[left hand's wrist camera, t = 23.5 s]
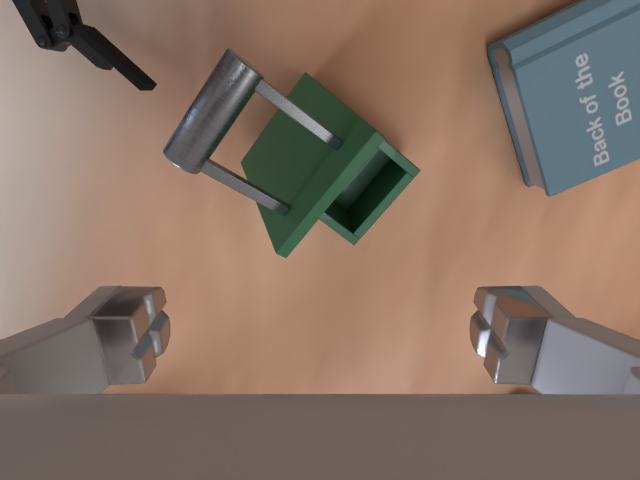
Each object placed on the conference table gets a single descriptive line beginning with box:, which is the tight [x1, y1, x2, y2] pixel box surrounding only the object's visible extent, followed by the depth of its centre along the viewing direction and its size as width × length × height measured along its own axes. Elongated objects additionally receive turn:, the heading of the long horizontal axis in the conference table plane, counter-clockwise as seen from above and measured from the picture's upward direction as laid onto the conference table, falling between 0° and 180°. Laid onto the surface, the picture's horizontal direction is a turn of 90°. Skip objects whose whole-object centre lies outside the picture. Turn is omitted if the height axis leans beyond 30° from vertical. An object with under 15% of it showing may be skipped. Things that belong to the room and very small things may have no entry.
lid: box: [163, 48, 385, 258], centre depth 26 cm, size 14×10×9 cm
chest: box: [319, 140, 420, 245], centre depth 40 cm, size 13×10×9 cm
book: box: [488, 0, 640, 197], centre depth 38 cm, size 23×16×5 cm
